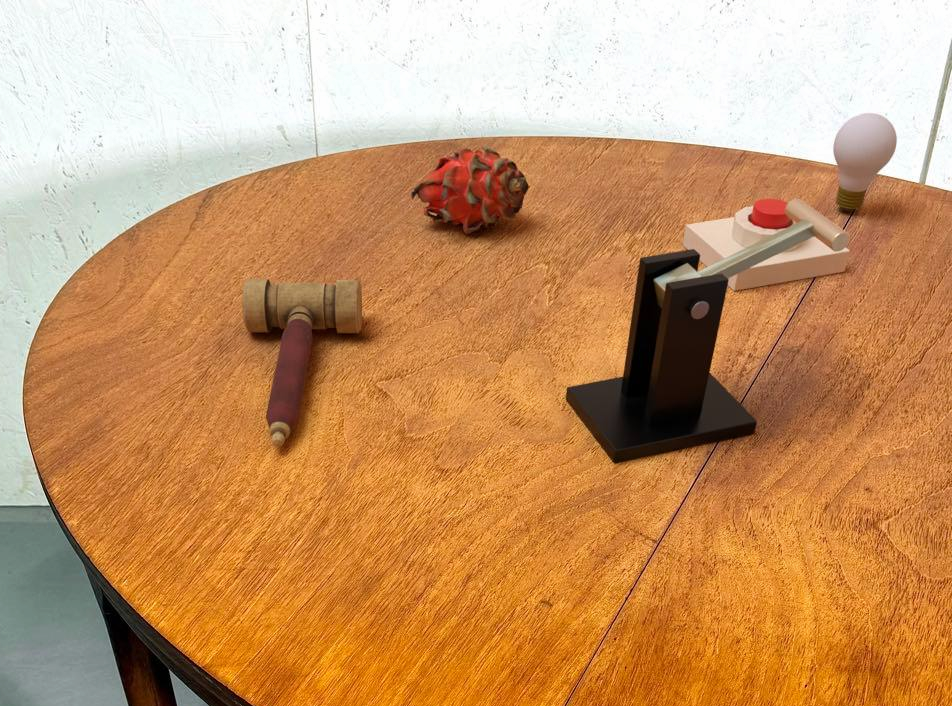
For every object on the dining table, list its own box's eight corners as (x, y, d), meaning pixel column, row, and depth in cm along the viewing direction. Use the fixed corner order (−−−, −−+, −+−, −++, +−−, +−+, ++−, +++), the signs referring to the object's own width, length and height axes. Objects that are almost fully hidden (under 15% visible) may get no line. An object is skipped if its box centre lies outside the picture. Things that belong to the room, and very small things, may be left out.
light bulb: (809, 214, 111) (833, 118, 105) (828, 194, 115) (852, 100, 108) (865, 228, 109) (894, 130, 102) (883, 207, 112) (911, 111, 106)
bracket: (697, 373, 89) (725, 229, 80) (754, 433, 82) (792, 284, 74) (565, 399, 86) (580, 253, 78) (613, 463, 80) (636, 311, 71)
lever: (803, 216, 80) (801, 189, 78) (850, 251, 76) (849, 223, 74) (646, 293, 80) (640, 267, 78) (684, 332, 76) (680, 305, 74)
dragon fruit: (534, 243, 110) (420, 257, 112) (528, 170, 112) (416, 185, 114) (531, 201, 102) (408, 217, 104) (524, 122, 104) (403, 139, 106)
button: (775, 213, 103) (779, 196, 102) (796, 228, 101) (800, 211, 100) (742, 218, 103) (746, 201, 101) (763, 234, 100) (766, 216, 99)
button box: (786, 228, 109) (795, 190, 106) (844, 271, 102) (855, 232, 99) (682, 245, 106) (688, 207, 104) (733, 291, 99) (742, 251, 97)
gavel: (341, 421, 78) (206, 419, 79) (345, 467, 82) (215, 466, 82) (360, 269, 93) (247, 268, 93) (363, 314, 96) (253, 313, 97)
